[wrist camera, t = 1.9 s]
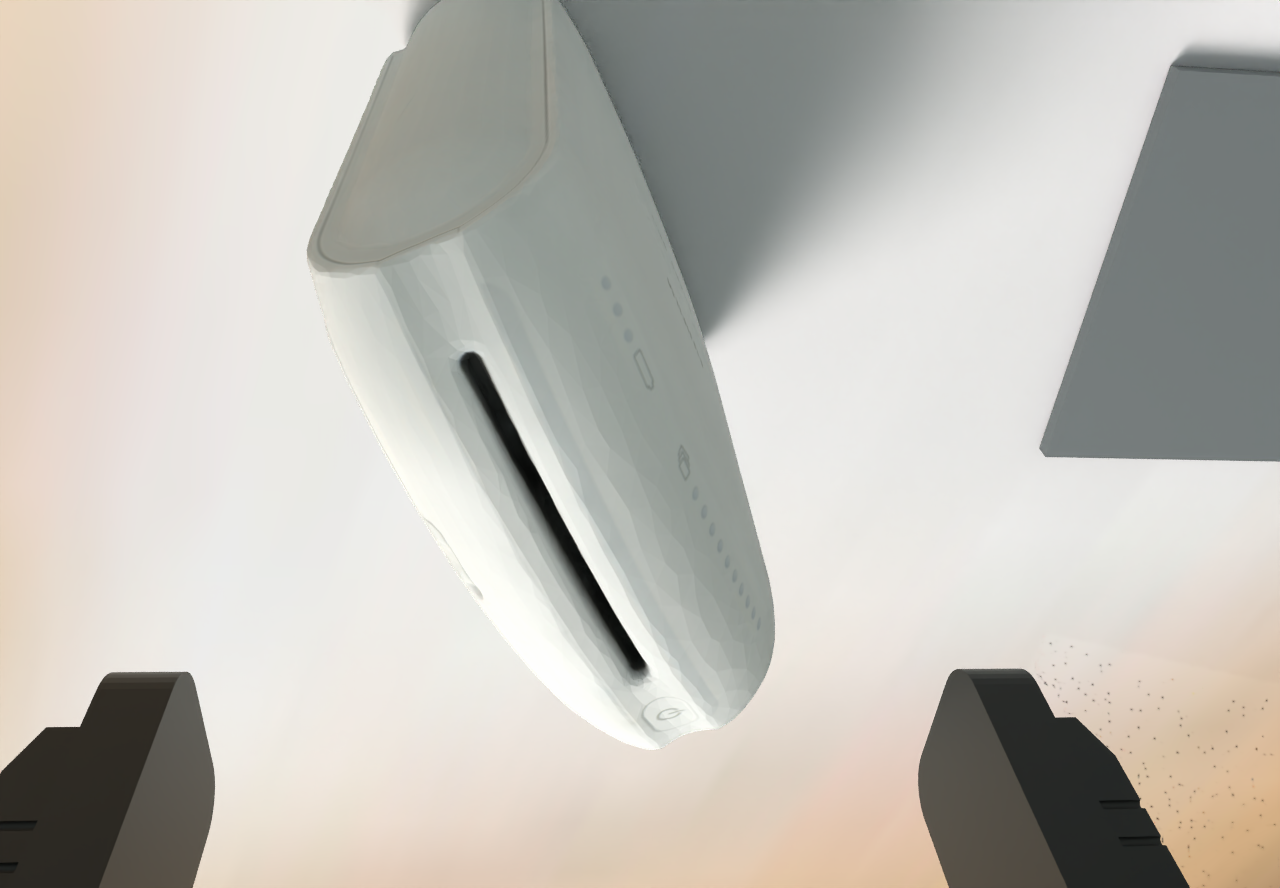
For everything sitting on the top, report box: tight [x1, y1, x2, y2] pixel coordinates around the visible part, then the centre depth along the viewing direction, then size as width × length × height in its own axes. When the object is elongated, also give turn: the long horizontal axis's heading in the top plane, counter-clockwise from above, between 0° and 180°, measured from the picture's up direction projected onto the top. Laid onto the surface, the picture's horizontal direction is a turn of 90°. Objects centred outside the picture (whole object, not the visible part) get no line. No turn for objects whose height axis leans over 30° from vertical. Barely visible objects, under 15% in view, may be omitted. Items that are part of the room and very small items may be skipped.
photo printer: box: [307, 0, 775, 750], centre depth 19 cm, size 10×4×12 cm, turn 21°
